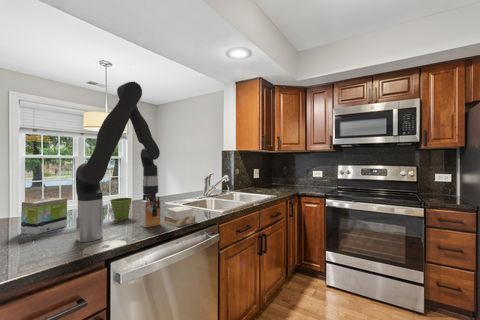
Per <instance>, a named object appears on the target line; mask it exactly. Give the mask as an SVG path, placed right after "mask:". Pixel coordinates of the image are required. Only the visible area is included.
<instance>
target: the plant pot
mask: <svg viewBox="0 0 480 320" xmlns="http://www.w3.org/2000/svg"><path fill="white" fill-rule="evenodd" d="M132 200H133V198H132V197H118V198H112V199H110V200H109V202H110V205H111V207H112V212H113V218H114V219H115V221H122V220H127V219H129V215H130V209H131V203H132Z"/></svg>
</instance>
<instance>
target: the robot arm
mask: <svg viewBox="0 0 480 320" xmlns="http://www.w3.org/2000/svg"><path fill="white" fill-rule="evenodd" d="M116 93H117V97H118V99H119V100H118V102H117V103H116V104H115V106H114V108H112V109H111V111H110V112H109V113H108V114H107V116H106V117H105V118H104V120H103V121H102V124H101V126H100V127H99V129H98V132H97V135H96V140H95V145H94V149H93V151H92V153H91V155H90V157H89V159H88V160H87V162H83V163H81V164H80V165H78V166H77V168H76V170H75V191H76V193H75V194H76V196H77V216H76V222H75V224H76V226H75V227H76V228H75V230H76V236H75V237H76V239H75V240H76V241H77V242H79V243H87V242H88V243H89V242H94V241H99V240H101V239H102V238H104V237H103V234H104V231H103V229H104V228H103V227H104V225H103V223H104V222H103V219H104V218H103V215H104V214H103V213H104V211H103V204H104V203H103V202H104V201H103V196H104V195H103V191H102V189H101V182H102V180H103V179H104V178H105V176H106V173H107V170H108V166H109V163H110V161H111V158H112V156H113V154H114V152H115V150H116V149H117V146H118V145H119V142H120V140H121V138H122V135H124V132H125V129H126V127H127V125H128V123H129V120H130V122H131V125H132V127H133V130H134V133H135V136H136V138H137V141H138V142H139V143H140V144H141V145H143V148H142V149H141V151H140V161H141V164H142V168H143V171H142V173H143V174H142V175H143V179H142V201H144V200H148V201H150V206H152V209H153V210H152V216H153V217H156V216H157V209H158V208H159V200H160V196H156V195H157V194H158V193H159V178H158V177H159V176H158V165H156V164H155V162H154V161H155V160H158V159H159V158H160V154H161V153H160V148H159V146H158V144H157V143H156V141H155V139H154V137H153V135H152V133H151V130H150V126H149V124H148V123H147V121H146V119H145V118H144V116H143V115H142V114H141V111H140V110H139V107H138V105H137V104H139V101H140V100H141V98H142V96H143V88H142V87H141V85H140V84H139V83H138V82H137V81H125V82H123V83H122V84H120V85H119V86H118V87H117V89H116ZM151 201H152V202H153V201H154V203H152V202H151ZM157 205H158V206H157Z"/></svg>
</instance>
